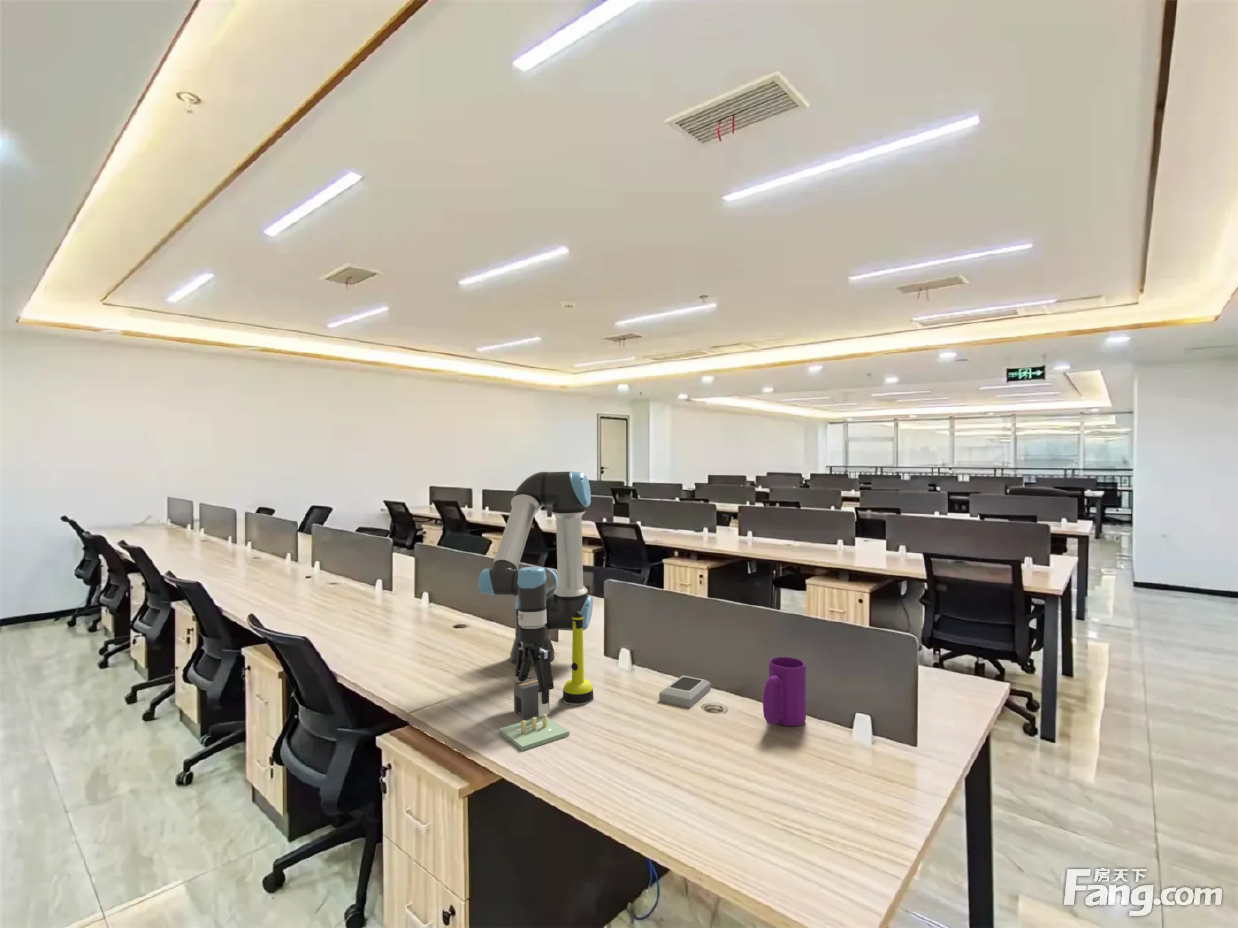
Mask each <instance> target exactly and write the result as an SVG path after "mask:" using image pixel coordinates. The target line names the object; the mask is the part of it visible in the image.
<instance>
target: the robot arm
mask: <svg viewBox="0 0 1238 928" xmlns="http://www.w3.org/2000/svg"><path fill="white" fill-rule="evenodd" d="M590 486H591V485H590V482H589V478H588V477H587V475H586V474H585V473H584V472H581V471H540V472H536V473H534V474H532V475H530V476H529V477H527V478H525V480H523V482H521V483H520V485H519V486H518V487H517V488H516V489H515V490H514V493H513V495H512V498H511V501H510V506H511V510H510V513H509V515H508V518H507V522H506V525H505V528H504V531H503V533H502V536H501V540H500V542H499V545H498V547H497V551H496V555H495V556H494V558H493V559H494V560H493V563H492V566H491V568H489V567H488V568H483V569H482V571H480V573H479V574H478V575H479V576H478V581H477V583H478V589H479V592H480V593H481V594H483V595H488V596H495V597H496V596H514V597H516V598H515V604H514V605H515V606H514V623H515V624H514V627H515V628H514V632H515V633H514V634H515V635H514V636H515V637H514V640H513V643H512V647H511V650H510V653H509V656H510V658H509V660H510V662H511V663H512V664H514V665H515V668H514V677H517V680H518V682H521V681H525V680H529V679H531V677H530V671H531V668H532V667H534V671H535V675H536V678H537V680H538V684H539V688H540V690H538V715H537V716H538V717H542V716H543V714H547V716H548V715H550V690H554V687H555V686H554V680H553V679H554V678H553V673H552V672H553V670H552V664H551V663H552V661H554V660H555V649H554V645H553V642H552V640H551V637H550V630H551V631H552V630H553V631H554V630H555V631H571V632H573V619H572V616H573V615H574V613H575V612H576V611H579V612H580V613H581V614H582V615H583V631H585V630H587V629H588V627H589V625H590V623H591V620H592V615H593V610H594V609H593V608H594V597H593V596H592V595H589V593H588V588H586V586H584V578H583V577H584V569H583V568H584V566H583V565H584V564H583V563H584V562H583V523H582V522H583V521H582V517H583V515H584V514H585V513H586V512H587V508H588V507H590V505H591V504H592V500H591V497H592V492H591V487H590ZM541 507H550V509H551V514H552V515H554V517H555V518H556V519H555V522H556V523H555V524H556V525H555V526H556V558H557V559H556V560H557V561H556V562H557V563H556V564H557V569H556V570H557V573H556V572H555V571H554V570H553V569H552V568H546V567H545V568H544V567H541V566H525V567H521V568H519V566H520V562H521V559H522V556H523V553H524V549H525V546H526V543H527V540H528V537H529V533H530V531H531V527H532V523H533V520H534V517H535V515H537V514H538V512H539V511H540V508H541Z"/></svg>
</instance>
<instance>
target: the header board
mask: <svg viewBox="0 0 1238 928" xmlns="http://www.w3.org/2000/svg"><path fill="white" fill-rule="evenodd" d="M499 734H500V735H501V736H503V737H504V738H506V740H507V741H509V742H510V743H512V745H514V746H515V747H517V748H518V749H519V750H521V751H522V752H523V751H526V750H529V749H533V748H535V747H538V746H541V745H545V744H547V743H551V742H554V741H557V740H560V739H563V738H566V737H569V736H570V730H568V729H566V727H564V726H562V725H560V724H559V723H557V722H556V721H554V720H553V719H552V718H550V717H548V715H547V714H543V716H542V717H539V716H533V717H532V718H530V719H527V720H525V719H522V720H521V721H520V722H517V723H515V724H511V725H507V726H504V727H501V728H500V727H499Z"/></svg>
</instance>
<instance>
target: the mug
mask: <svg viewBox="0 0 1238 928" xmlns="http://www.w3.org/2000/svg"><path fill="white" fill-rule="evenodd" d="M806 670H807V666H806V663H805V662H804V661H803V660H800V659H798V658H795V657H794V658H793V657H787V656H784V657H783V656H778V657H773V658H771V659H769V661H768V678H767V681H766V682H765V686H764V689H763V696H762V697H763V699H762V713H763V717H764V719H765V721H766V723H767V724H769V725H775V724H778V725H781V726H784V727H798V726H803V725H804V723H805V722H806V719H807V690H806V689H807V685H806V683H807V679H806V678H807V675H806V673H807V672H806Z"/></svg>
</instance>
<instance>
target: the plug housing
mask: <svg viewBox="0 0 1238 928" xmlns="http://www.w3.org/2000/svg"><path fill="white" fill-rule="evenodd" d="M538 690H540V688H539V684H538V680H537V677H534V678H529V679H526V680H525V681H521V682H520V681H518V682H514V683H513V713H514V714H515V715H517V714H520V713H521V719H522V720H525V719H529V718H531V717H537V716H539V715H538Z"/></svg>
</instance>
